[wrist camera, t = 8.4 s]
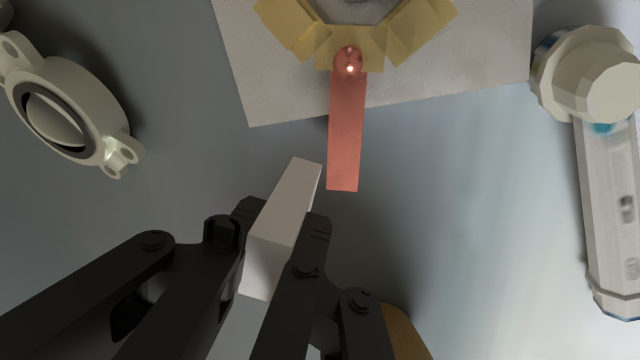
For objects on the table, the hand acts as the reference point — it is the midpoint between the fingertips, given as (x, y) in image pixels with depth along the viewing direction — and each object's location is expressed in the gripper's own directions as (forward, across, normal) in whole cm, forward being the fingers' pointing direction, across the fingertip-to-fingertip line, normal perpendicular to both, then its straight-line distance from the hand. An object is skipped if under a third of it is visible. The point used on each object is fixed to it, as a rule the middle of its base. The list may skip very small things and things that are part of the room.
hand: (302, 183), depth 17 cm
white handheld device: (+13, +21, +1) cm, 25 cm away
